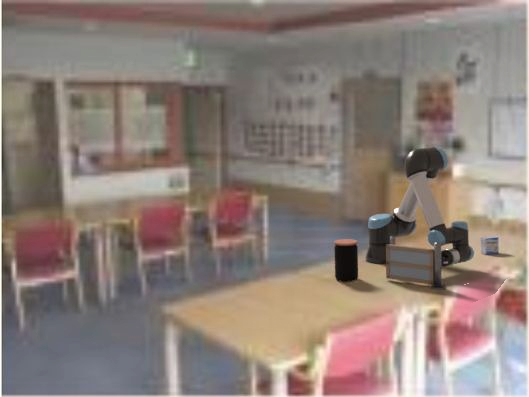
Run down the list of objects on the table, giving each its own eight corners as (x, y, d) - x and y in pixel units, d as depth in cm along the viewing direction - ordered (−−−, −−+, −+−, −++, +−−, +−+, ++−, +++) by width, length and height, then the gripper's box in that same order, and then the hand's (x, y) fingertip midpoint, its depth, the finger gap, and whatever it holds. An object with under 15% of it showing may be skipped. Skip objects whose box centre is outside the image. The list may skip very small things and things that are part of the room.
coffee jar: (343, 275, 334) (342, 238, 331) (362, 278, 327) (361, 240, 324) (330, 280, 325) (329, 242, 323) (350, 283, 319) (349, 244, 316)
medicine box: (485, 255, 363) (485, 238, 362) (480, 253, 368) (480, 237, 366) (498, 253, 365) (498, 237, 364) (493, 251, 370) (493, 235, 369)
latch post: (390, 277, 326) (389, 237, 323) (390, 276, 328) (390, 236, 326) (395, 277, 325) (395, 237, 323) (396, 276, 328) (395, 236, 325)
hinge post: (430, 289, 303) (430, 244, 300) (431, 285, 309) (430, 241, 306) (445, 289, 301) (444, 244, 299) (445, 286, 307) (444, 241, 304)
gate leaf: (435, 284, 307) (434, 249, 305) (433, 285, 305) (432, 250, 303) (388, 277, 321) (387, 244, 319) (386, 278, 320) (385, 244, 318)
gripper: (458, 267, 322) (423, 276, 308) (436, 263, 332) (402, 271, 319) (458, 251, 321) (423, 260, 307) (436, 247, 331) (401, 255, 318)
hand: (412, 265), depth 313 cm, fingers closed
